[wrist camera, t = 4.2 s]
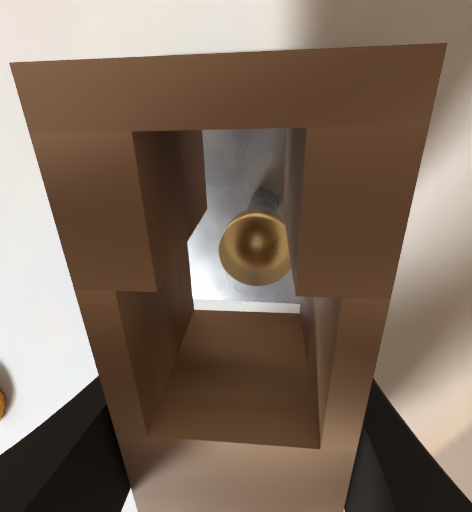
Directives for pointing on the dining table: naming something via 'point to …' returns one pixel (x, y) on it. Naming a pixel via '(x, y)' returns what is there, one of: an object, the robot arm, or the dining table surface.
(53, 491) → the robot arm
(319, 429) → the block
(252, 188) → the hook plate
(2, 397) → the decorated donut
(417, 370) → the dining table surface
